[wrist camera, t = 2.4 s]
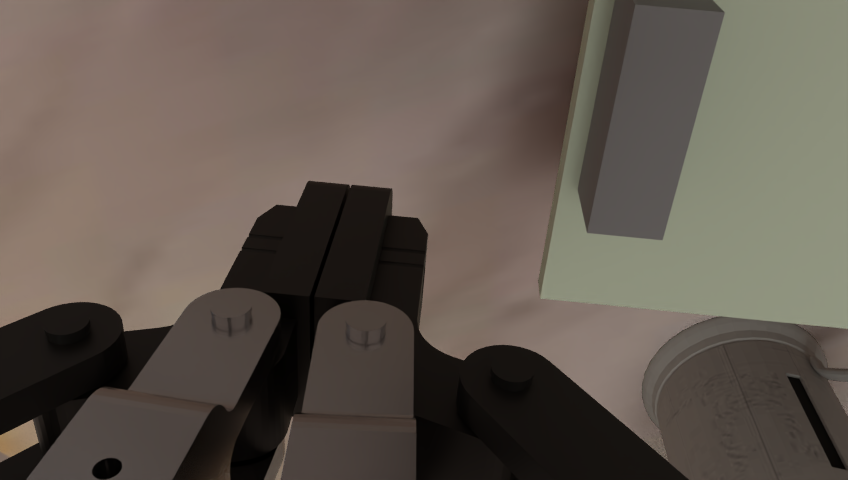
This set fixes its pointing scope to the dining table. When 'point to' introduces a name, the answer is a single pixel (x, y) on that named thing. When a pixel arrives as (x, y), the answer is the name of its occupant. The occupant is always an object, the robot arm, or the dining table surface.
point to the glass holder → (748, 403)
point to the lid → (706, 161)
